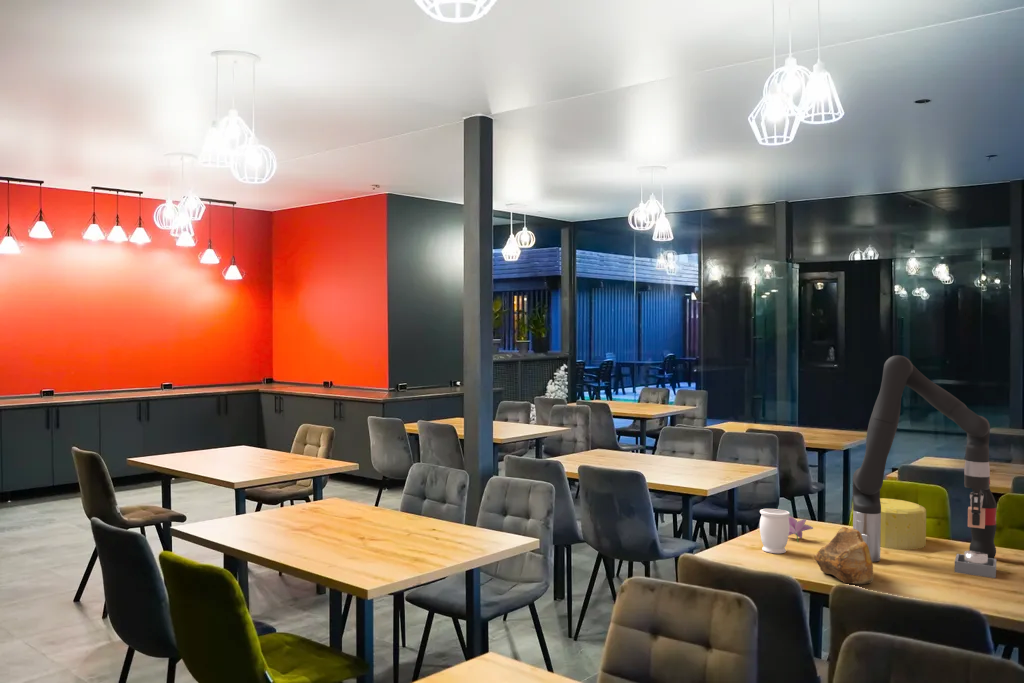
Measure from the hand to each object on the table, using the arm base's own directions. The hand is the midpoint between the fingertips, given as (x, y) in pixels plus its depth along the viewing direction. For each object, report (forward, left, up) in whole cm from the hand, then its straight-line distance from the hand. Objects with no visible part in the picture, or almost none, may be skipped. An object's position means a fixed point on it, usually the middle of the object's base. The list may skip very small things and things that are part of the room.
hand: (976, 523), depth 274 cm
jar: (-35, +56, -17) cm, 68 cm away
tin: (0, 0, -16) cm, 16 cm away
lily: (-13, +62, -17) cm, 66 cm away
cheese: (+18, +41, -17) cm, 48 cm away
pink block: (0, 0, -1) cm, 1 cm away
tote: (0, 0, -17) cm, 17 cm away
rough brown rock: (-43, +23, -17) cm, 52 cm away
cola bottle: (+23, +8, -17) cm, 30 cm away
